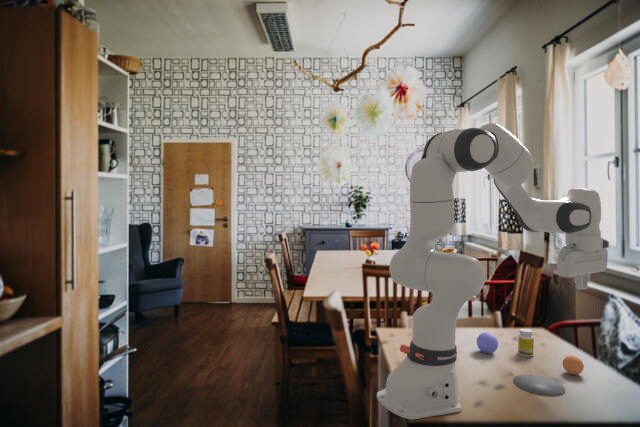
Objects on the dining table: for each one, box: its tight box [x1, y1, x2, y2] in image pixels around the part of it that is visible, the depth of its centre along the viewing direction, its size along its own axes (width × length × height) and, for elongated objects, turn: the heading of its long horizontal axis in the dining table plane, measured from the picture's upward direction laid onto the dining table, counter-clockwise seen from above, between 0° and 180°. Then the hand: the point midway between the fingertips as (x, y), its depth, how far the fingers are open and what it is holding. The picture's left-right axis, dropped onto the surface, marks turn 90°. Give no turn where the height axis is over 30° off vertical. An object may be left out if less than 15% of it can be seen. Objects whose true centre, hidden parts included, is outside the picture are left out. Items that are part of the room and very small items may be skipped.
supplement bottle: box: [517, 328, 534, 357], centre depth 137 cm, size 5×5×8 cm
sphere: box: [475, 332, 499, 354], centre depth 138 cm, size 7×7×7 cm
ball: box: [562, 355, 585, 376], centre depth 121 cm, size 6×6×6 cm
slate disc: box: [512, 374, 566, 397], centre depth 113 cm, size 13×13×1 cm
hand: (581, 288), depth 118 cm, fingers closed
